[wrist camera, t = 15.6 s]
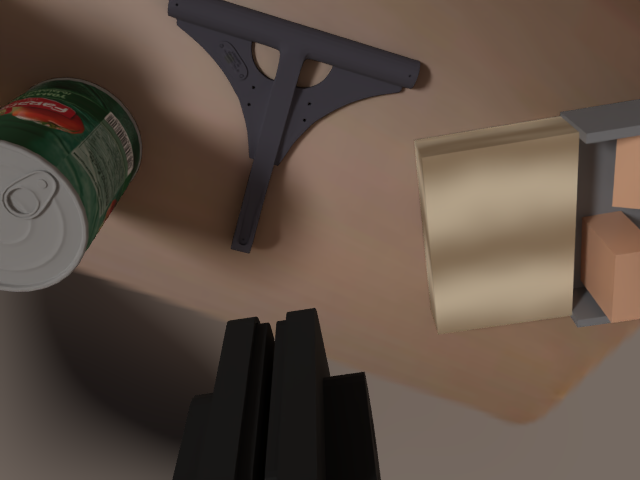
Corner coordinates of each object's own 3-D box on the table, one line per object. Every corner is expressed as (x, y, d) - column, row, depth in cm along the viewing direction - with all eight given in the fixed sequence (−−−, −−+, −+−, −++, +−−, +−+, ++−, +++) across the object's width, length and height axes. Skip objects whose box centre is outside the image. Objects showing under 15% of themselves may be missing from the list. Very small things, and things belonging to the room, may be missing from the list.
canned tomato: (84, 220, 40) (13, 320, 31) (-15, 131, 37) (-128, 210, 28) (169, 150, 38) (122, 233, 28) (71, 48, 35) (-19, 102, 25)
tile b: (615, 255, 36) (659, 248, 36) (582, 217, 40) (620, 210, 40) (611, 323, 38) (652, 316, 38) (580, 280, 43) (616, 274, 42)
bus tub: (560, 112, 37) (586, 133, 34) (703, 88, 37) (745, 108, 33) (556, 293, 44) (577, 327, 40) (677, 276, 43) (710, 308, 40)
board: (414, 140, 38) (421, 157, 35) (560, 116, 37) (579, 132, 35) (430, 308, 44) (438, 334, 41) (556, 290, 44) (571, 315, 41)
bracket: (137, 212, 41) (126, 232, 38) (176, -17, 34) (166, -10, 32) (341, 263, 43) (344, 284, 41) (417, 57, 36) (425, 69, 34)
